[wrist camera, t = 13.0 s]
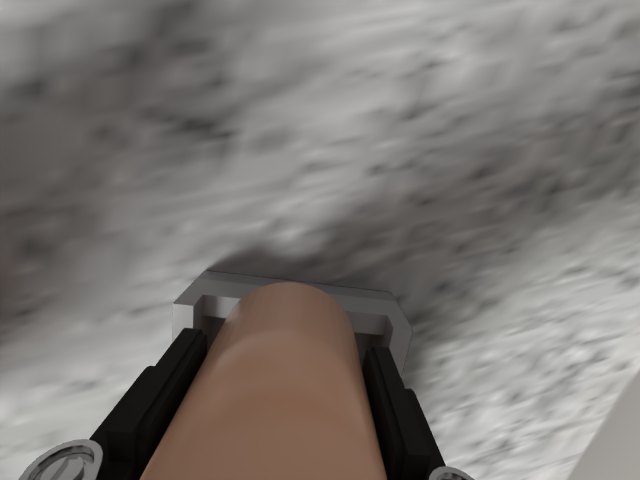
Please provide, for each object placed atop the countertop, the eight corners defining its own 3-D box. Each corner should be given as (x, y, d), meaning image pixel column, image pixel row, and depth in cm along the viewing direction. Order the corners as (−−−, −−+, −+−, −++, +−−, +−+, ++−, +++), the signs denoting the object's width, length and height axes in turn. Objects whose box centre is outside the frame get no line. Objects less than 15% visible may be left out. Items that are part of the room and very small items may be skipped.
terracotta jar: (219, 269, 11) (-428, 1052, 1) (370, 285, 12) (689, 1015, 2) (215, 394, 13) (-112, 1181, 3) (347, 406, 13) (449, 1150, 3)
